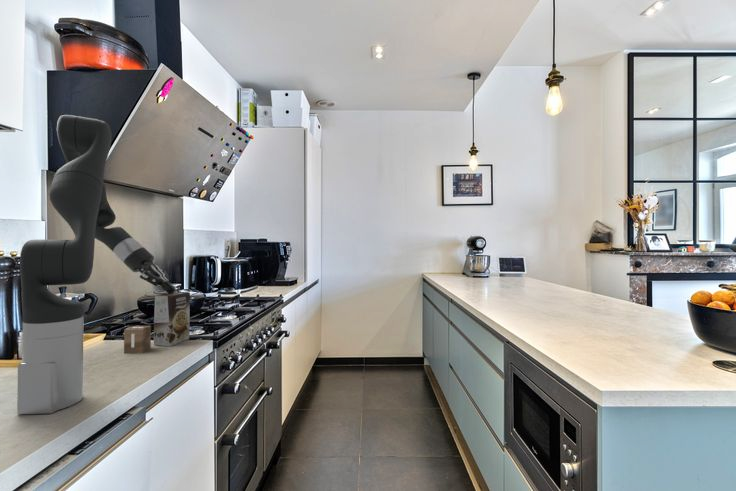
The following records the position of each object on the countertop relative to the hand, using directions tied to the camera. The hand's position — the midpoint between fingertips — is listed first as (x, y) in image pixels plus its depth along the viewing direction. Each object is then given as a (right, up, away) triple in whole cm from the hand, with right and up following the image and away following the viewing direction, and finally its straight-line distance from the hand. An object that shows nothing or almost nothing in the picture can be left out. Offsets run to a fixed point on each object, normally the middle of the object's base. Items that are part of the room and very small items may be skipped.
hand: (172, 291), depth 116 cm
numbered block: (-5, -17, -10) cm, 20 cm away
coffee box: (0, -17, 0) cm, 17 cm away
